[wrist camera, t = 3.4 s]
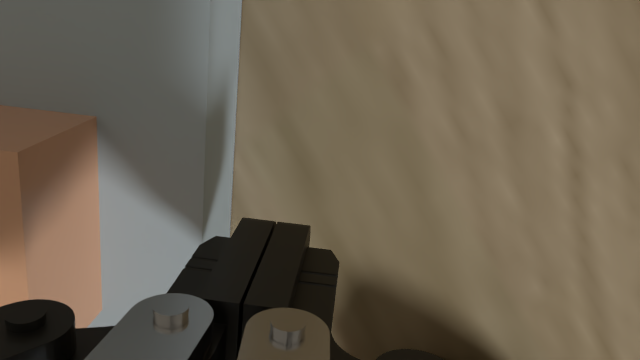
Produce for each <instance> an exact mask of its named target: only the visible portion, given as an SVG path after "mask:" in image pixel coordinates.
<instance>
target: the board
mask: <svg viewBox="0 0 640 360" xmlns="http://www.w3.org/2000/svg"><path fill="white" fill-rule="evenodd" d="M241 9H242V0H0V105H5V106H13V107H22V108H30V109H38V110H47V111H55V112H63V113H72V114H80V115H88V116H97V147H98V181H99V215H100V250H101V284H102V311H101V312H100V313H99V314H98V315H97V316H96V318H95V319H94V320H93V321H92V322H91V324H90V325H89V326H88V327H87V328H90V327H106V326H115V325H116V324H117V323H118V322H119V321H120V320H121V319H122V318H123V317H124V315H125V314H126V313H127V312H128V311H129V310H130V309H131V308H132V307H133V306H134V305H135V304H137V303H138V302H140V301H142V300H144V299H146V298H149V297H152V296H156V295H160V294H166V293H167V292H168V290H169V289H170V287H171V286H172V284H173V283H174V281H175V280H176V279H177V277H178V276H179V274H180V273H181V271H182V270H183V269H185V265H186V264H187V262H188V261H189V260H190V259H191V258H192V255H193V254H194V252H195V251H196V249H197V248H198V246H199V245H200V244H202V243H204V242H206V241H207V240H209V239H211V238H213V237H215V236H221V237H229V238H230V221H231V202H232V183H233V164H234V144H235V125H236V106H237V86H238V67H239V48H240V29H241Z"/></svg>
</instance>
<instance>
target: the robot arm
mask: <svg viewBox="0 0 640 360" xmlns="http://www.w3.org/2000/svg"><path fill="white" fill-rule="evenodd" d="M309 242H310V226H309V225H300V224H292V223H284V222H277V224H276V222H275V221H267V220H259V219H251V218H242V219H241V221H240V223H239V225H238V226H237V228H236V230H235V231H234V233H233V235H232V237H231V238H229V237H221V236H215V237H213V238H211V239H209V240H207V241H206V242H204V243H202V244H200V245H199V246H198V248H197V249H196V251H195V252H194V254H193V255H192V258H191V259H190V260H189V261H188V262H187V264H186V265H185V269H183V270H182V271H181V273H180V274H179V276H178V277H177V279H176V280H175V281H174V283H173V284H172V286H171V287H170V289H169V290H168V292H167V293H166V294H160V295H156V296H152V297H149V298H146V299H144V300H142V301H140V302H138V303H137V304H135V305H134V306H133V307H132V308H131V309H130V310H129V311H128V312H127V313H126V314H125V315H124V317H123V318H122V319H121V320H120V321H119V322H118V323H117V324H116V325H115V326H106V327H90V328H75V314H74V311H73V310H72V309H71V308H70V307H69V306H68V305H66V304H64V303H61V302H58V301H54V300H45V299H33V300H24V301H19V302H15V303H11V304H7V305H4V306H1V307H0V360H359V359H357V358H355V357H353V356H351V355H349V354H348V353H346V352H345V351H343V350H342V349H341V348H340V347H339V346H338V345H337V344H336V342H335V341H334V339H333V337H332V334H331V328H332V320H333V312H334V303H335V295H336V286H337V278H338V269H339V261H338V260H337V258H336V257H335V255H334V254H333V252H332V251H331V250H326V249H318V248H310V247H309ZM376 360H443V359H441V358H440V357H438V356H435V355H433V354H430V353H427V352H424V351H419V350H412V349H399V350H393V351H389V352H386V353H384V354H382V355H381V356H379V357H378V358H377V359H376Z"/></svg>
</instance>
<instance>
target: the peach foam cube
mask: <svg viewBox="0 0 640 360" xmlns="http://www.w3.org/2000/svg"><path fill="white" fill-rule="evenodd" d="M33 299H45V300H54V301H58V302H61V303H64V304H66V305H68V306H69V307H70V308H71V309H72V310H73V311H74V314H75V328H87V327H88V326H89V325H90V324H91V322H92V321H93V320H94V319H95V318H96V316H97V315H98V314H99V313H100V312H101V311H102V284H101V250H100V215H99V181H98V147H97V116H88V115H80V114H72V113H63V112H55V111H47V110H38V109H30V108H22V107H13V106H5V105H0V307H1V306H4V305H7V304H11V303H15V302H19V301H24V300H33Z"/></svg>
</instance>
